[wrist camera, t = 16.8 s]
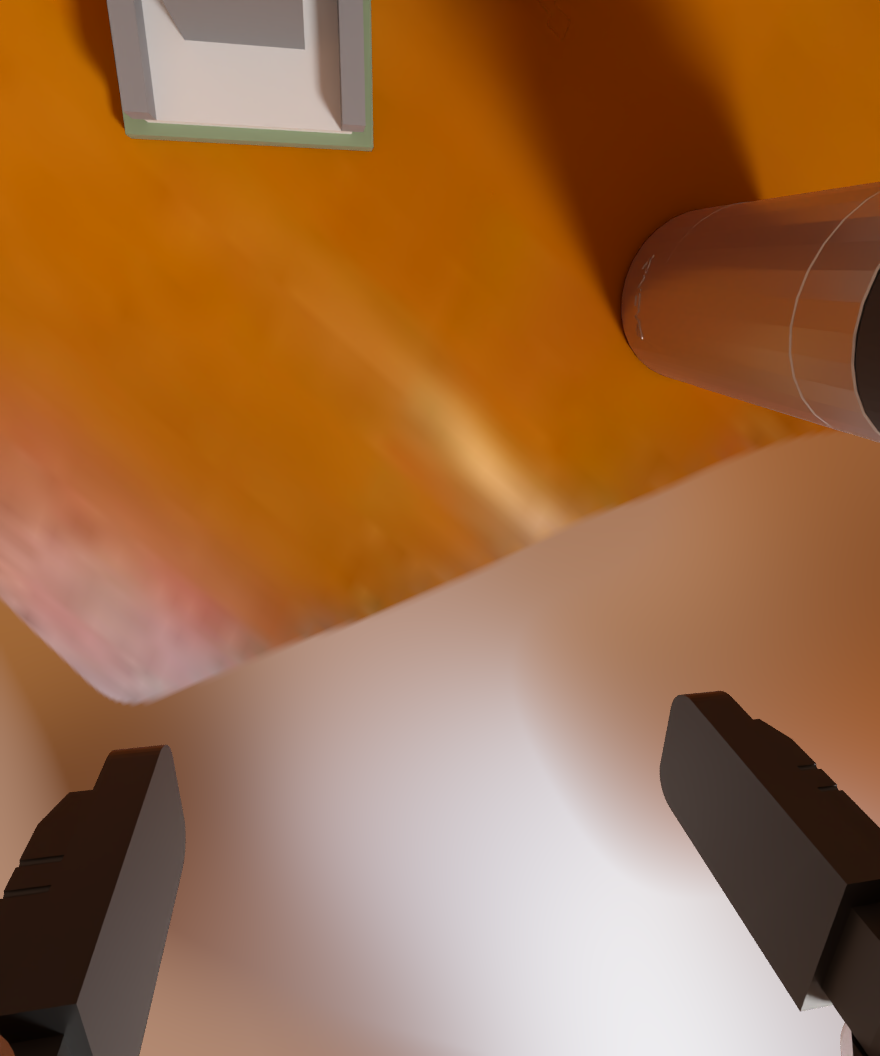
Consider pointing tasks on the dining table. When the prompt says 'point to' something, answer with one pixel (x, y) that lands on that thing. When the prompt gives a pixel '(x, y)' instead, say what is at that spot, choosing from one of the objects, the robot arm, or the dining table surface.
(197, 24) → the chute block
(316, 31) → the railed white tray
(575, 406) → the dining table surface
